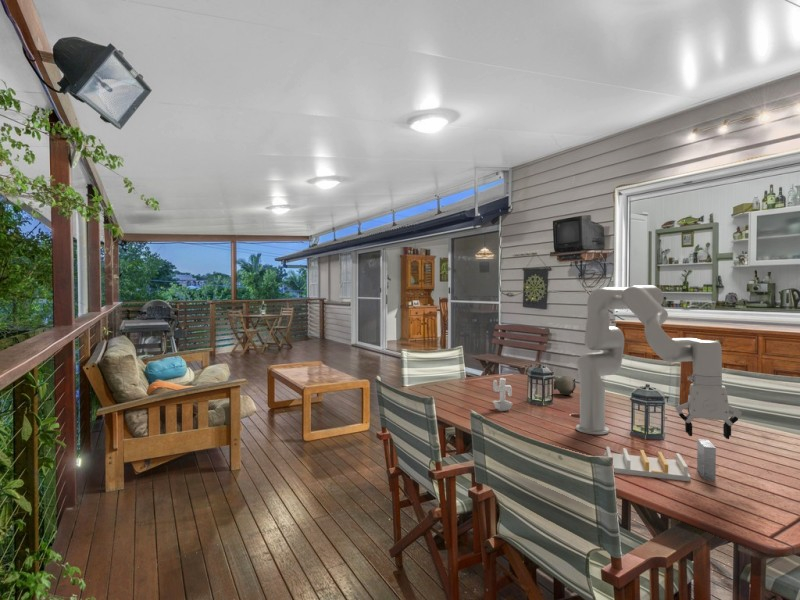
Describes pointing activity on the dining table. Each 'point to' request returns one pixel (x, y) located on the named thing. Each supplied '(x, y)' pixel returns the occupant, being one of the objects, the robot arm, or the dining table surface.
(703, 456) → the panel
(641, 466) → the rack
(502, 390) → the figurine
